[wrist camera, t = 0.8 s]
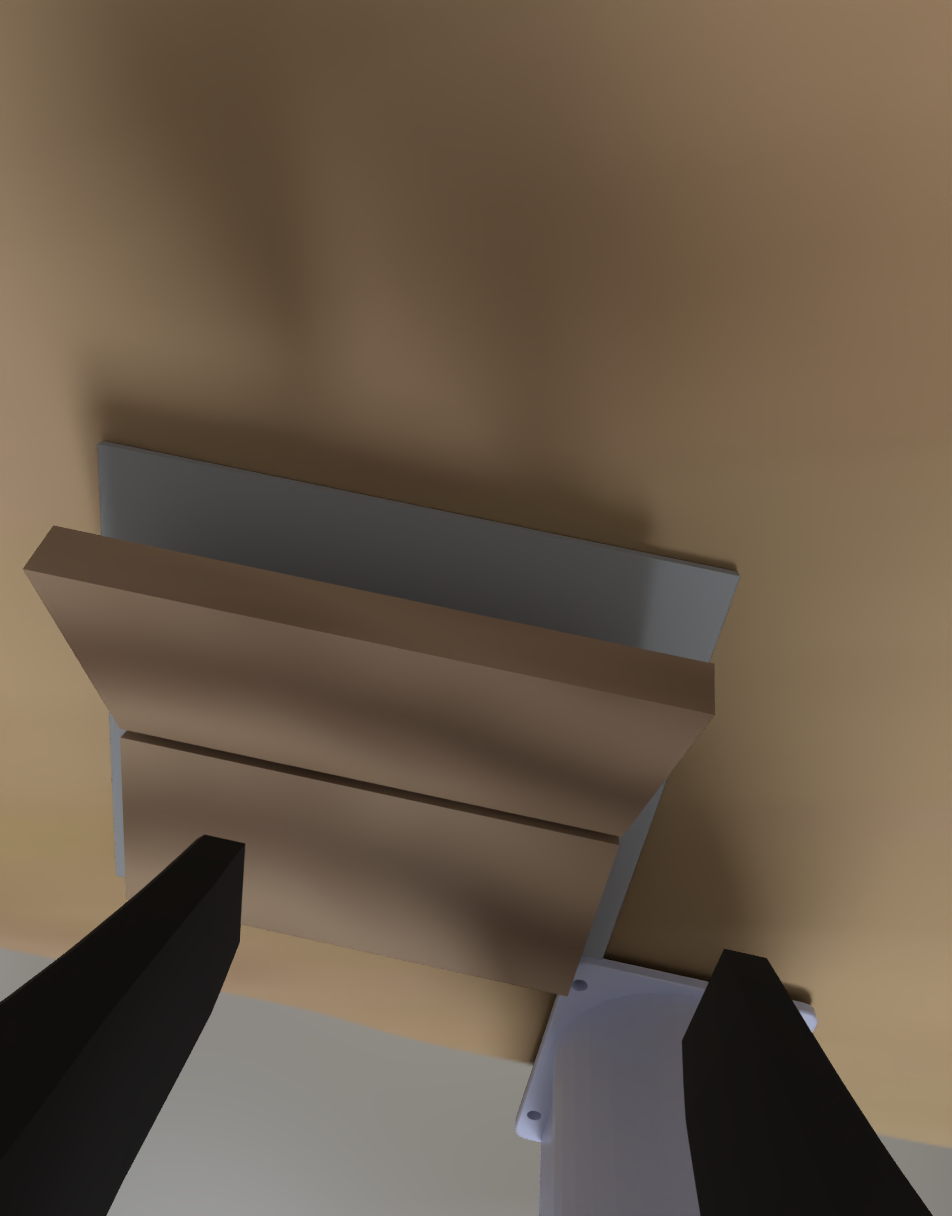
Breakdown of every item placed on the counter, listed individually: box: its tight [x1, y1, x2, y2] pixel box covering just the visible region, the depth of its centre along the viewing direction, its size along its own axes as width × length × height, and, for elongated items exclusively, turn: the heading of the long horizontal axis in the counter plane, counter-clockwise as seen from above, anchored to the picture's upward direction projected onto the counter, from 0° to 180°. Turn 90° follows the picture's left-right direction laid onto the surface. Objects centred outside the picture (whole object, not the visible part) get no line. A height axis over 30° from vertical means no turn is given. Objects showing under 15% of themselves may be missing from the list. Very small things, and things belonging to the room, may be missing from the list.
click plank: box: [23, 526, 715, 837], centre depth 18 cm, size 7×14×1 cm, turn 80°
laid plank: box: [120, 730, 619, 997], centre depth 23 cm, size 6×14×1 cm, turn 80°
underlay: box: [98, 441, 740, 960], centre depth 22 cm, size 14×16×1 cm
